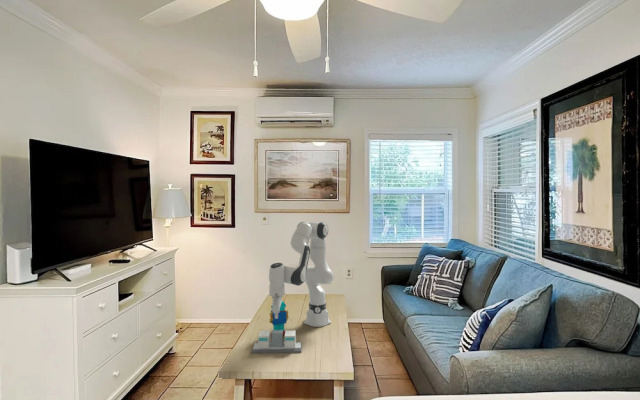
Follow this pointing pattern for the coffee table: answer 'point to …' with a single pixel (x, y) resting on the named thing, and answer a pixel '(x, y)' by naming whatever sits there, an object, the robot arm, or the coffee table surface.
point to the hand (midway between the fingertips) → (277, 315)
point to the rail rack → (287, 347)
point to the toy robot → (279, 318)
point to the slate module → (277, 338)
